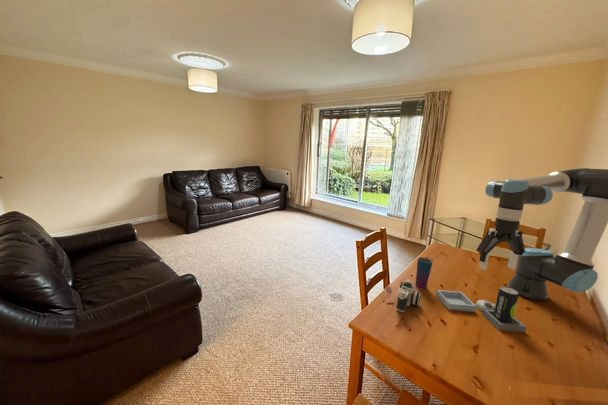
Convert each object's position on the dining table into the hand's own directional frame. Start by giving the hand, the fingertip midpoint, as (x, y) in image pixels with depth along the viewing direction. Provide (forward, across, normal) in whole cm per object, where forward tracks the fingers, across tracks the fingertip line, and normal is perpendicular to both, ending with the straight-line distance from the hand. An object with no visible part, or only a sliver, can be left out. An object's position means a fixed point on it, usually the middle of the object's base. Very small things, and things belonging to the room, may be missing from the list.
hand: (496, 268), depth 101 cm
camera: (+22, +30, -11) cm, 39 cm away
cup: (+22, +14, -25) cm, 36 cm away
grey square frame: (+22, -4, +4) cm, 23 cm away
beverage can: (+22, -3, +4) cm, 23 cm away
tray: (+22, +7, -10) cm, 25 cm away
